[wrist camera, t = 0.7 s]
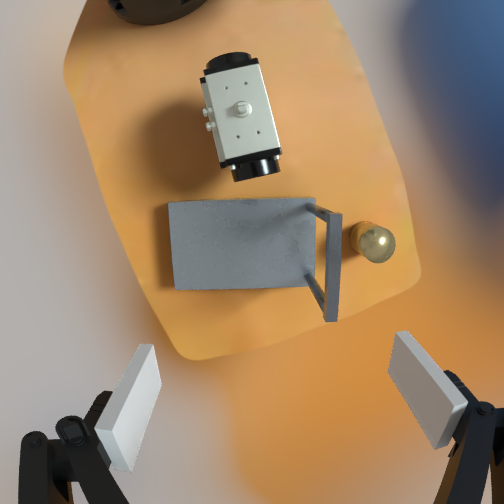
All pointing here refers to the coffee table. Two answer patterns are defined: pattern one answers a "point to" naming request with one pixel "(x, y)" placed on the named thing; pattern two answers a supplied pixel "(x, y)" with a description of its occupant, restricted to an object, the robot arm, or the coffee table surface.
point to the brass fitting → (372, 241)
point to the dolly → (254, 246)
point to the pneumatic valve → (240, 116)
